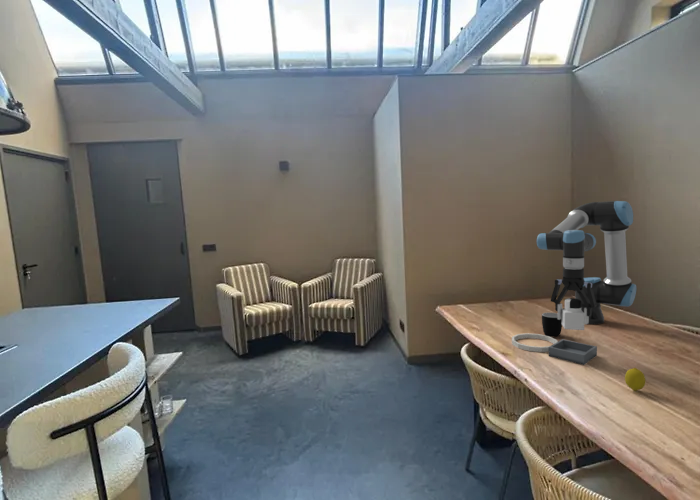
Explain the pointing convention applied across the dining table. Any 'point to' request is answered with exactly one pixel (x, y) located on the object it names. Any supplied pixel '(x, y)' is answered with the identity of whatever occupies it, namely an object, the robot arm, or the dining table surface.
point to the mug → (551, 324)
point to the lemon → (635, 379)
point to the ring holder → (532, 348)
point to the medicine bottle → (572, 315)
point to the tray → (573, 351)
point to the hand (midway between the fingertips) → (572, 321)
